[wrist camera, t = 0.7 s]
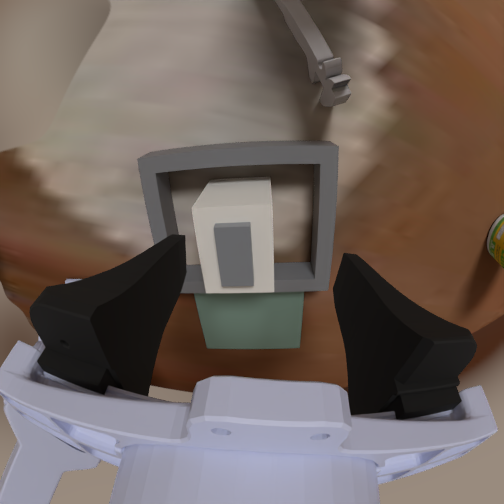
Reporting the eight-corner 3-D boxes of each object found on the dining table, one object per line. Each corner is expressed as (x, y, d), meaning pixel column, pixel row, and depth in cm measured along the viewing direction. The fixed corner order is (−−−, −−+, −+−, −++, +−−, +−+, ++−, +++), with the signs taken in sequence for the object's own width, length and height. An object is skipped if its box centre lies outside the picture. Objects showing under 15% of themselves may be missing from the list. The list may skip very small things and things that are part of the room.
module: (218, 248, 24) (204, 299, 18) (210, 179, 21) (188, 212, 15) (272, 247, 23) (274, 298, 18) (270, 176, 20) (272, 208, 15)
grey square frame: (174, 276, 25) (167, 292, 23) (150, 152, 19) (137, 159, 17) (323, 272, 24) (328, 290, 22) (330, 141, 19) (338, 146, 16)
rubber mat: (207, 344, 30) (207, 348, 29) (194, 287, 26) (193, 291, 25) (299, 343, 29) (299, 347, 28) (303, 285, 25) (304, 289, 24)
